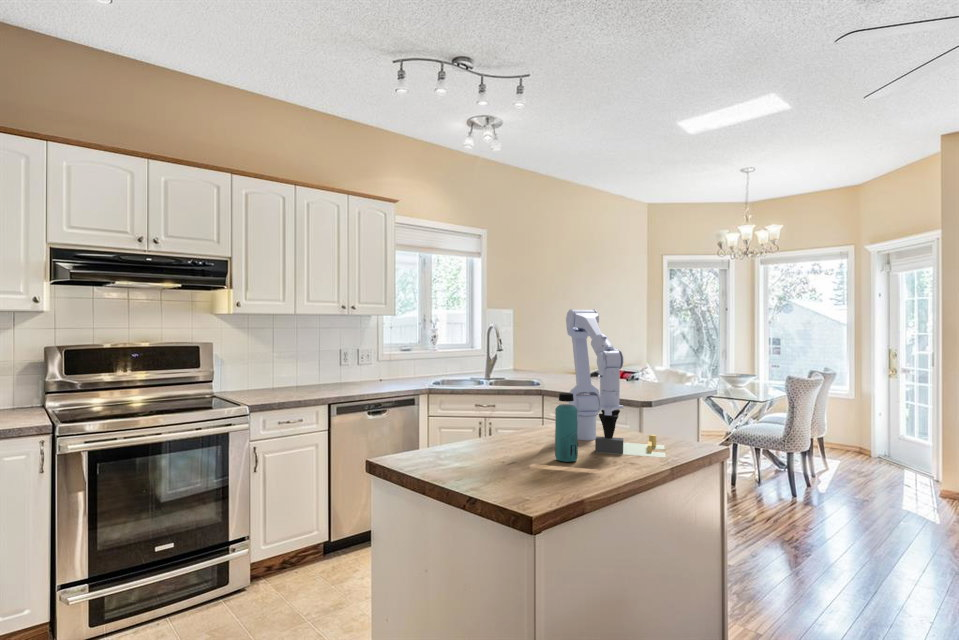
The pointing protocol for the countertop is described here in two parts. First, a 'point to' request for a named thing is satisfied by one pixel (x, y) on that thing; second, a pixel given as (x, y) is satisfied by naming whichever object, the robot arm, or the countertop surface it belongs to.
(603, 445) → the tall gray prism
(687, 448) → the countertop surface
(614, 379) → the robot arm
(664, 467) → the countertop surface
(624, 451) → the pale green u-shaped slab
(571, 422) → the beverage bottle
